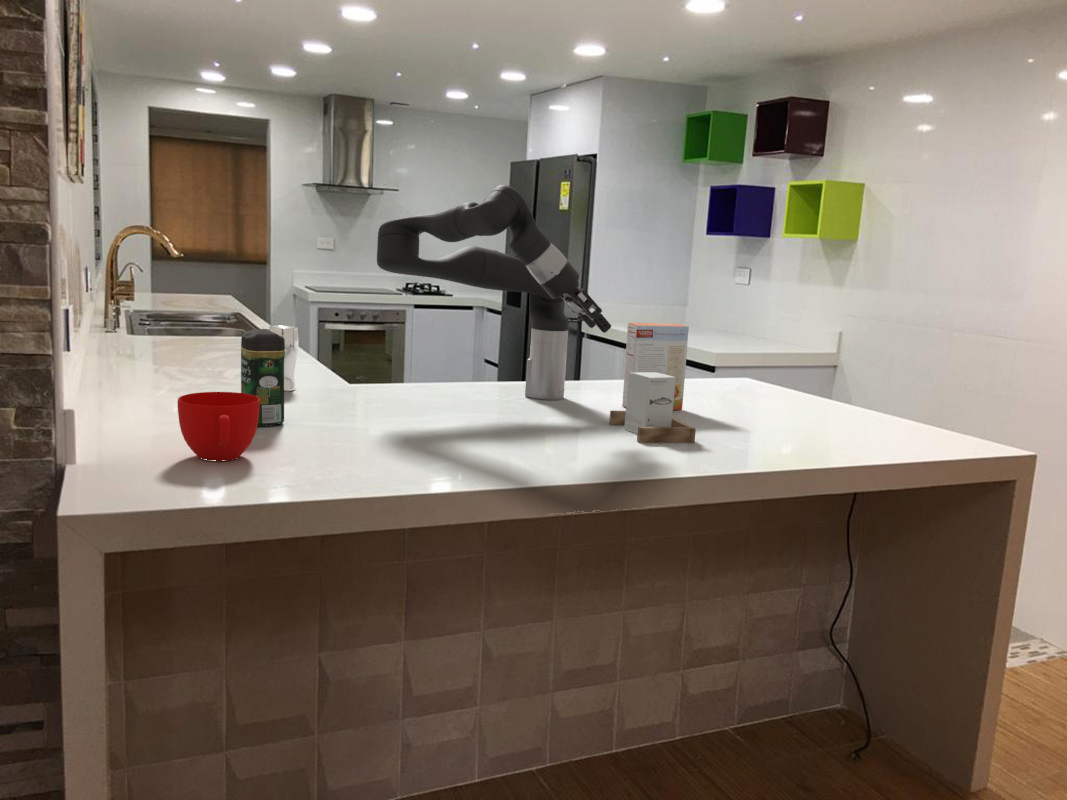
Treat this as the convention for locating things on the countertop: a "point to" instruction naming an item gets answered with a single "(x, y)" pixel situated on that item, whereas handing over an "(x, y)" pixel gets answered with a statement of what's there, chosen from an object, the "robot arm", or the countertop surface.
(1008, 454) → the countertop surface
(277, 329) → the beer glass
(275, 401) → the coffee jar
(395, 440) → the countertop surface
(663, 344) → the cracker box
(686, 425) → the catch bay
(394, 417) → the countertop surface
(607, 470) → the countertop surface
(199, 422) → the ceramic cup
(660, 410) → the supplement box
